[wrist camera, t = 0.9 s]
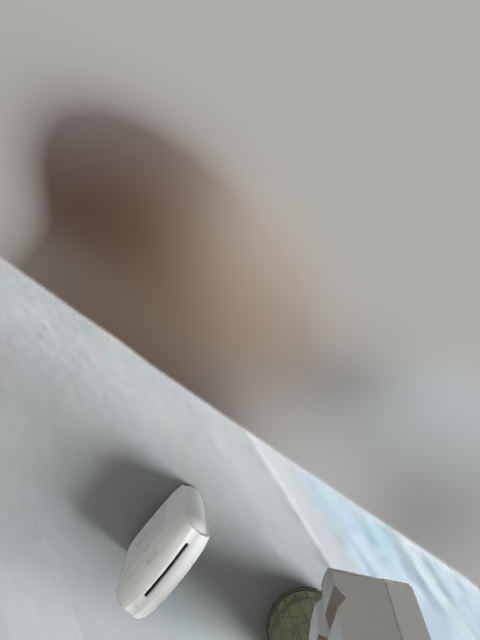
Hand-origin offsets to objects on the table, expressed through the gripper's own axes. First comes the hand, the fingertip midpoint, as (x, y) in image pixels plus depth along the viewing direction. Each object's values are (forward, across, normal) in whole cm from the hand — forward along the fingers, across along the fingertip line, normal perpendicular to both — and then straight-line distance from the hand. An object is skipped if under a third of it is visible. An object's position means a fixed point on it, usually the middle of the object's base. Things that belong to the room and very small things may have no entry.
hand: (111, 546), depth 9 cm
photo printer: (+38, -3, -31) cm, 49 cm away
